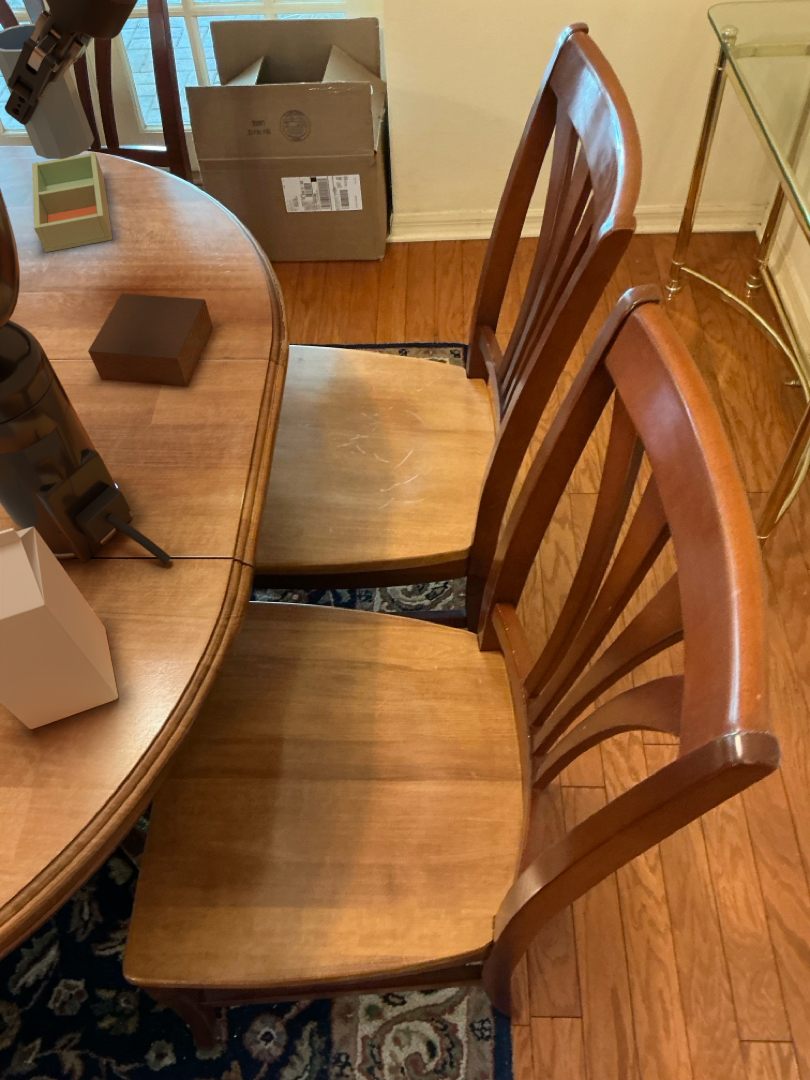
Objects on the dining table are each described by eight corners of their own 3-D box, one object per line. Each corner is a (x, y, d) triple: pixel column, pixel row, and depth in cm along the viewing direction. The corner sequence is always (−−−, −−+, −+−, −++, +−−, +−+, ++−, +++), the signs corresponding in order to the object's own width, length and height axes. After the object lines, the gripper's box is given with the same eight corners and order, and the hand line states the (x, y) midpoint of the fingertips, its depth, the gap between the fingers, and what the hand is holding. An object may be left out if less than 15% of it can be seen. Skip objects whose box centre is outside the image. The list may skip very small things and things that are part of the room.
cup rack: (103, 176, 110) (95, 152, 107) (112, 239, 101) (103, 215, 98) (42, 187, 109) (32, 163, 106) (45, 252, 100) (34, 228, 97)
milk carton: (119, 699, 63) (18, 571, 47) (30, 731, 61) (-104, 609, 46) (106, 628, 67) (8, 489, 51) (22, 657, 65) (-105, 522, 50)
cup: (105, 138, 80) (68, 31, 72) (62, 164, 77) (18, 56, 69) (66, 124, 82) (25, 18, 74) (22, 149, 80) (-25, 42, 71)
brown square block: (213, 327, 90) (205, 299, 87) (186, 386, 84) (177, 358, 81) (132, 321, 91) (121, 292, 88) (100, 379, 85) (87, 351, 82)
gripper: (92, -106, 68) (26, 38, 79) (20, -46, 60) (-43, 106, 71) (166, -34, 72) (93, 95, 83) (108, 32, 63) (35, 165, 74)
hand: (31, 99), depth 77 cm, fingers closed on cup, 6 cm apart
